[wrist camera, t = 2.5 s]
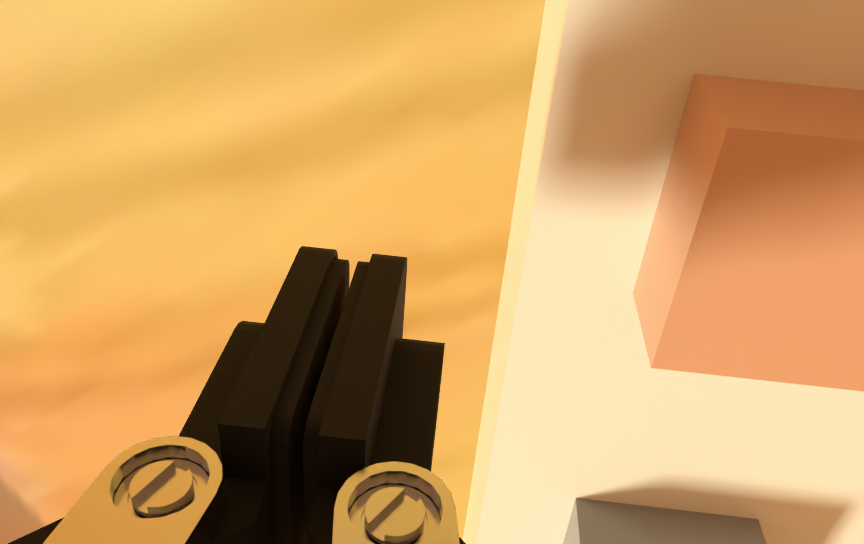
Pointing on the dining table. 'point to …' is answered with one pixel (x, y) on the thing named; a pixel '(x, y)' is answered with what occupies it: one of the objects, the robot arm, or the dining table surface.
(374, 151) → the dining table surface
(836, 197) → the terracotta tile
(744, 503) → the board
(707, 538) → the slate tile
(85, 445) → the dining table surface
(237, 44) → the dining table surface
